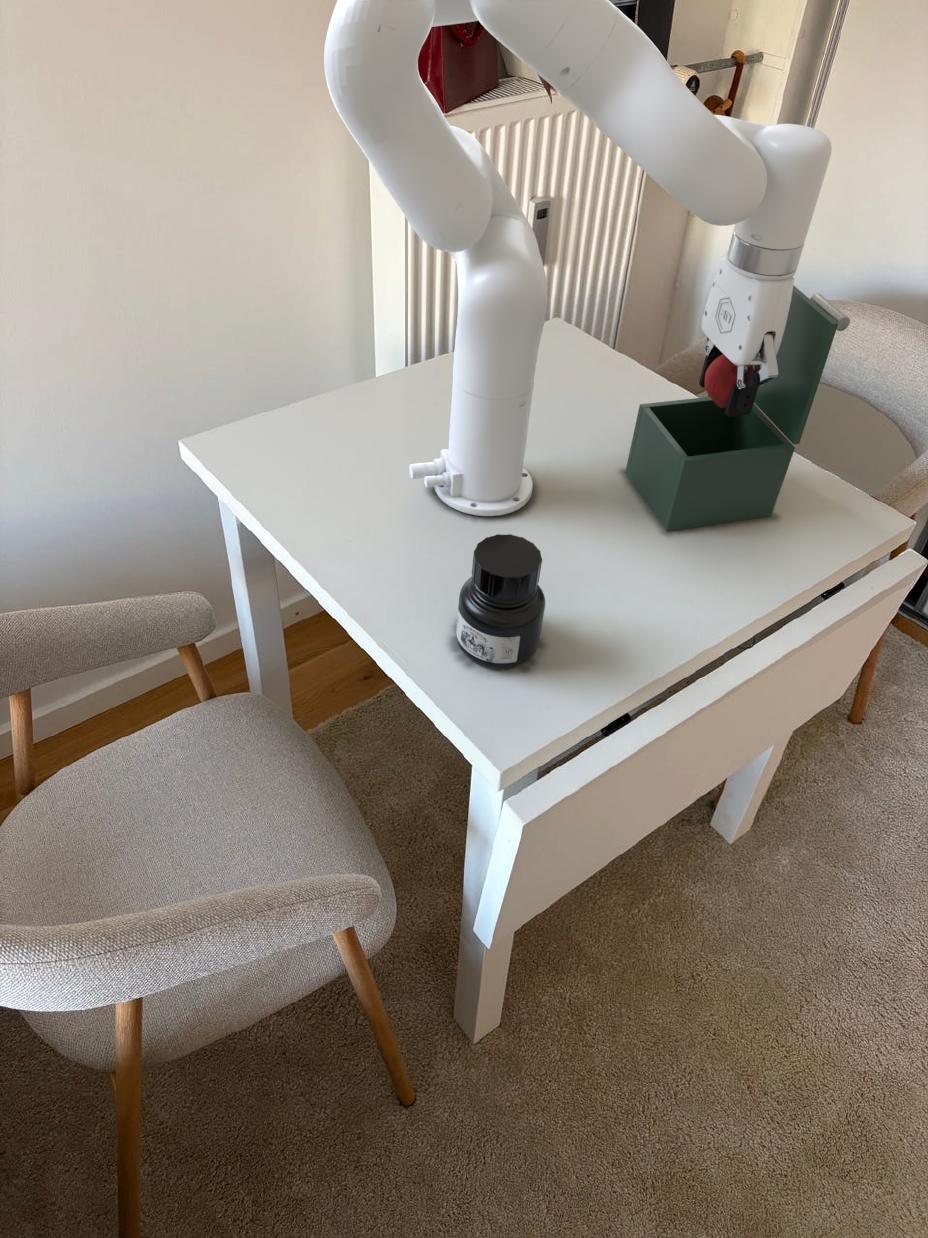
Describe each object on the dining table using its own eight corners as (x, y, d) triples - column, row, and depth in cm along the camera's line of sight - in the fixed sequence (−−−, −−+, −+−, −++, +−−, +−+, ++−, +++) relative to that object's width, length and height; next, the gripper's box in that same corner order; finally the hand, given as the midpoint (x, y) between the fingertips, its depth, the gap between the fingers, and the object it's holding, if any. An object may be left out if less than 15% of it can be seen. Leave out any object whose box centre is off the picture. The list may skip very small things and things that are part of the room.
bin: (666, 531, 122) (684, 461, 115) (624, 472, 131) (639, 403, 123) (771, 516, 126) (795, 447, 118) (723, 460, 134) (743, 392, 127)
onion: (753, 404, 120) (771, 344, 114) (736, 425, 116) (754, 364, 111) (708, 389, 122) (724, 329, 117) (690, 409, 118) (706, 348, 113)
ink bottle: (436, 636, 106) (441, 549, 98) (493, 600, 110) (503, 514, 102) (501, 686, 101) (512, 600, 93) (558, 646, 106) (574, 561, 98)
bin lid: (832, 323, 107) (873, 319, 108) (773, 273, 116) (811, 269, 117) (793, 444, 118) (831, 439, 119) (742, 389, 127) (777, 385, 128)
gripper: (696, 222, 111) (664, 367, 123) (774, 290, 99) (730, 442, 112) (755, 219, 113) (718, 361, 125) (838, 285, 101) (787, 435, 114)
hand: (724, 398), depth 118 cm, fingers closed on onion, 6 cm apart
